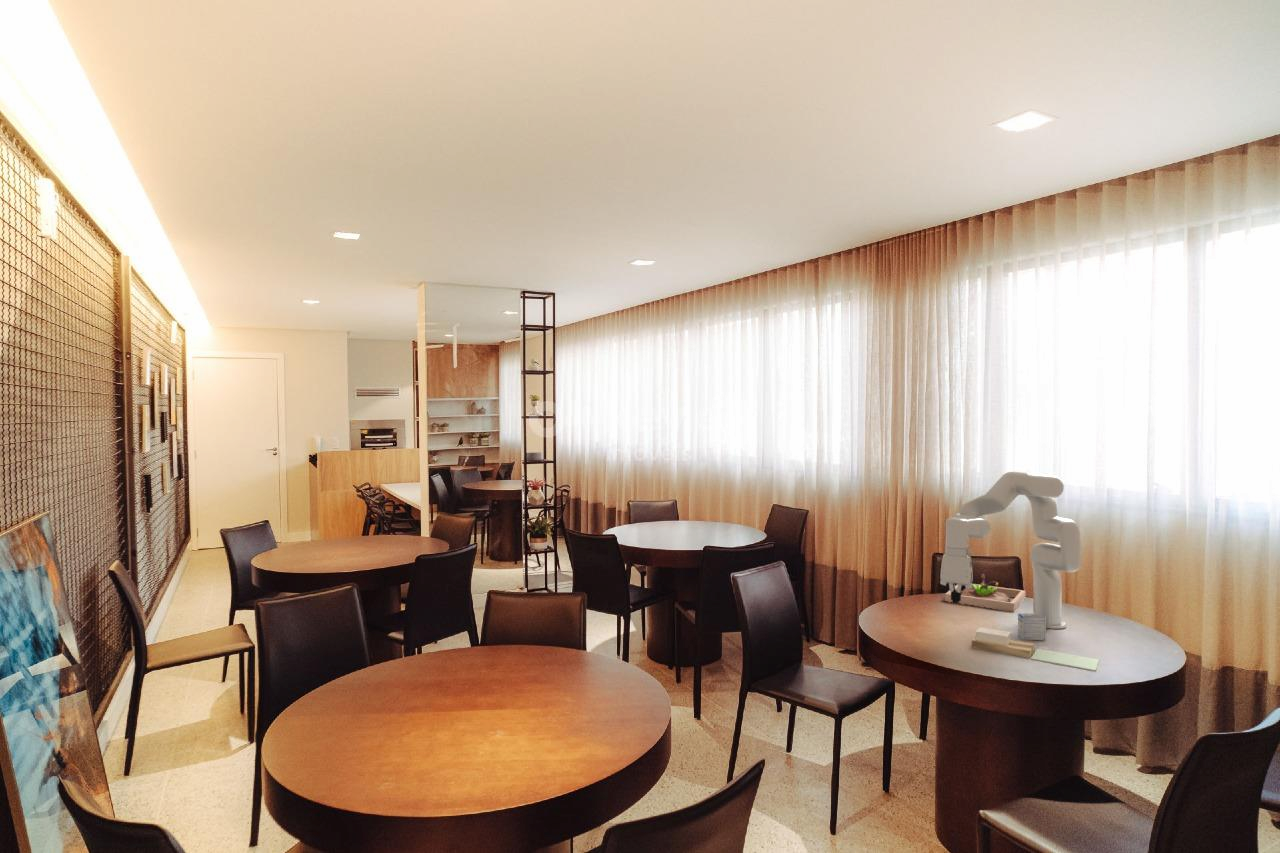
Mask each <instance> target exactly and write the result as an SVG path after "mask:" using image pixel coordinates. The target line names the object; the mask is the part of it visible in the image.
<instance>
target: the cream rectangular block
mask: <svg viewBox="0 0 1280 853" xmlns="http://www.w3.org/2000/svg"><path fill="white" fill-rule="evenodd" d="M975 637H976V640H980V641H986V642H991V643H997V644H1002V645H1008V644H1009V643H1010V642H1011V639H1012V632H1011V631H1004V630H998V629H993V628H987V627H981V626H980V627H979V628H977V630H976V631H975Z"/></svg>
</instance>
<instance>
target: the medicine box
mask: <svg viewBox="0 0 1280 853" xmlns="http://www.w3.org/2000/svg"><path fill="white" fill-rule="evenodd" d="M1046 630H1047V628H1046V617H1044V616H1043V615H1041V614H1033V613H1027V612H1026V613H1021V612H1020V613H1018V614H1017V636H1018V637H1019V638H1020V639H1021V640H1023V641H1032V640H1033V641H1046V639H1047V638H1046V637H1047V636H1046V632H1047V631H1046Z"/></svg>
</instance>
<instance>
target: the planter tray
mask: <svg viewBox="0 0 1280 853" xmlns="http://www.w3.org/2000/svg"><path fill="white" fill-rule="evenodd" d="M973 585H976V586H978V587H979V584H976V583H972V586H973ZM990 586H991V588H990V589H992V588H997V589H995V591H996V590H998V591H997V592H1001V593H1004V594H1006V595H1007V596H1008V597H1009V598H1012V597H1015V598H1013V599H1012V600H1010V602H1005V601H998V600H991V599H984V598H977V597H970V596H963V595H961V601H959V603H962V604H961V605H964V604H969V605H968V606H970V605H975V606H974V607H977V606H980V607H979V608H984V607H986V608H985V609H990V608H992V610H997V609H998V611H1005V612H1011V613H1015V612H1016V610H1017V609H1018V608H1019V607H1020V606H1021V604H1023V602H1024V601H1025V600H1026V590H1022V589H1016V588H1006V587H1002V586H1001V587H1000V586H992V585H990ZM957 587H958V584H956V585H955V589H956V591H957ZM970 589H972V590H976V589H975V587H974V586H973V587H972V588H970ZM964 590H969V589H964ZM961 593H962V591H961ZM1024 599H1025V600H1024ZM945 601H948V602H947V603H950V602H952V600H951V591H950V589H948V591H947V592H946V593H944V602H945Z"/></svg>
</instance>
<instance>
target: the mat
mask: <svg viewBox="0 0 1280 853" xmlns="http://www.w3.org/2000/svg"><path fill="white" fill-rule="evenodd" d="M1030 659H1031V661H1036V662H1037V661H1038V662H1044V663H1048V664H1053V665H1060V666H1066V667H1068V668H1069V667H1070V668H1071V667H1072V668H1076V669H1081V670H1087V671H1090V672H1091V671H1093V672H1096V671H1097V667H1098V665H1099V662H1100V659H1098V658H1092V657H1087V656H1082V655H1081V656H1080V655H1075V654H1069V653H1065V652H1064V653H1063V652H1058V651H1054V650H1053V651H1052V650H1046V649H1041V648H1035V651H1034V652H1033V654H1032V656H1031V657H1030Z"/></svg>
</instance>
